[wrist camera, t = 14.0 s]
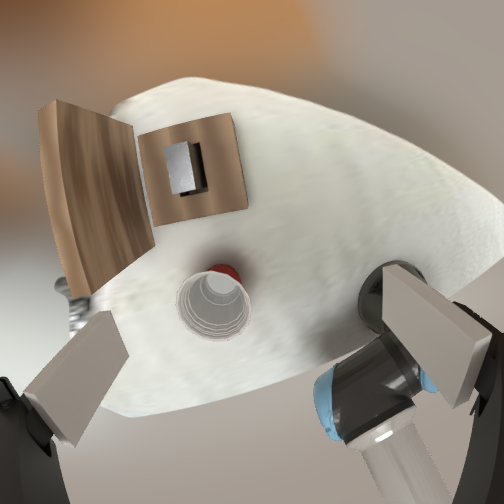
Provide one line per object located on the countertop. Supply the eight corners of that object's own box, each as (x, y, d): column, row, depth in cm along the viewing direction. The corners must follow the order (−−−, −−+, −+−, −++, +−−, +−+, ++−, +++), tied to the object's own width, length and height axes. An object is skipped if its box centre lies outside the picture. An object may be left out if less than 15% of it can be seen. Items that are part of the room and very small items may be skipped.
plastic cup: (203, 239, 46) (187, 259, 35) (261, 263, 48) (265, 290, 36) (183, 293, 49) (165, 325, 37) (238, 314, 50) (234, 352, 39)
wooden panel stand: (229, 100, 40) (211, 40, 19) (252, 227, 46) (253, 270, 25) (118, 131, 41) (38, 110, 20) (140, 248, 47) (72, 297, 26)
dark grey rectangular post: (204, 150, 42) (187, 140, 30) (210, 186, 43) (195, 189, 32) (186, 154, 42) (163, 147, 30) (192, 190, 43) (172, 194, 32)
